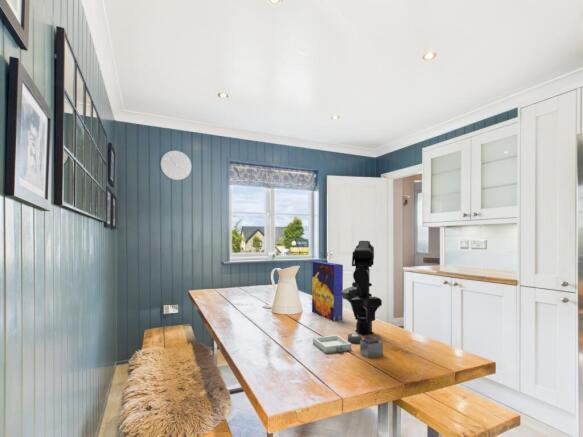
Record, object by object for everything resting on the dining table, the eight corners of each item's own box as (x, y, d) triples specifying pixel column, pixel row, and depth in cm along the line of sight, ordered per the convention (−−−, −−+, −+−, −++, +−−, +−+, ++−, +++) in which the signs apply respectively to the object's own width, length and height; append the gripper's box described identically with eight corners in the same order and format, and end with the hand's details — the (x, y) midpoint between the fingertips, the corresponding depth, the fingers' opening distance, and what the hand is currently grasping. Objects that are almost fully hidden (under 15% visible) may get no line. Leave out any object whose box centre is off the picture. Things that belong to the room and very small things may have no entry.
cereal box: (311, 312, 191) (312, 261, 193) (320, 311, 194) (321, 260, 195) (333, 321, 172) (333, 264, 173) (342, 320, 175) (342, 264, 176)
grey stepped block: (375, 351, 130) (375, 335, 130) (382, 355, 125) (383, 339, 125) (360, 353, 127) (360, 337, 127) (367, 357, 122) (367, 341, 123)
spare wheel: (356, 338, 145) (357, 332, 145) (364, 342, 139) (364, 336, 139) (345, 339, 142) (345, 333, 143) (352, 344, 137) (352, 338, 137)
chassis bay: (335, 339, 142) (335, 333, 142) (353, 351, 128) (353, 345, 129) (311, 342, 138) (311, 336, 138) (327, 355, 124) (327, 348, 124)
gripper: (333, 277, 136) (332, 315, 135) (356, 284, 118) (356, 328, 117) (356, 277, 139) (356, 313, 139) (382, 283, 122) (382, 325, 121)
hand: (361, 319), depth 129 cm, fingers open, 9 cm apart
